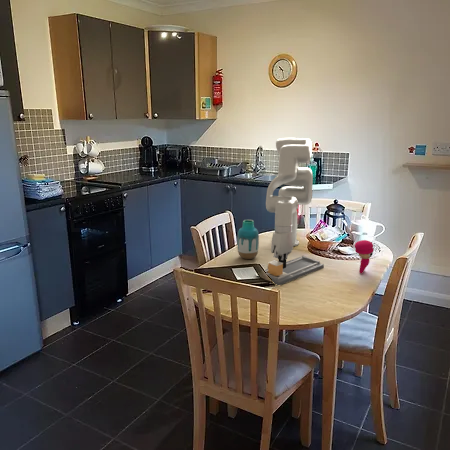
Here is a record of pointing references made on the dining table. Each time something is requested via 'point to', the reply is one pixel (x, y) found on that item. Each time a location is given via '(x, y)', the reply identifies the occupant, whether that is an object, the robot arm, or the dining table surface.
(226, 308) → the dining table surface
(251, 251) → the vase
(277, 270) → the orange cube
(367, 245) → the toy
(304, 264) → the grey rectangular tray
